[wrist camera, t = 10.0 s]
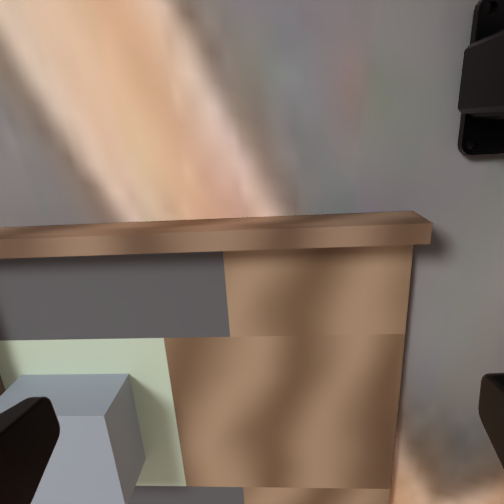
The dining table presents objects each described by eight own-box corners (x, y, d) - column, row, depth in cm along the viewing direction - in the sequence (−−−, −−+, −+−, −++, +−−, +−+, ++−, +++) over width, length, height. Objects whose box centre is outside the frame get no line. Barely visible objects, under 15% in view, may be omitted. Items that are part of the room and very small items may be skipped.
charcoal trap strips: (223, 236, 20) (221, 239, 19) (248, 538, 28) (248, 545, 27) (-35, 245, 21) (-42, 248, 21) (59, 534, 29) (55, 541, 28)
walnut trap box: (412, 210, 19) (432, 223, 17) (382, 551, 27) (392, 591, 25) (-57, 229, 21) (-100, 243, 18) (50, 542, 29) (30, 579, 27)
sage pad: (165, 333, 22) (163, 338, 22) (187, 479, 26) (186, 486, 26) (-6, 336, 23) (-12, 340, 22) (41, 478, 27) (36, 484, 26)
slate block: (128, 373, 23) (104, 415, 19) (145, 459, 25) (126, 509, 22) (21, 374, 23) (-20, 416, 20) (48, 458, 25) (14, 507, 22)
